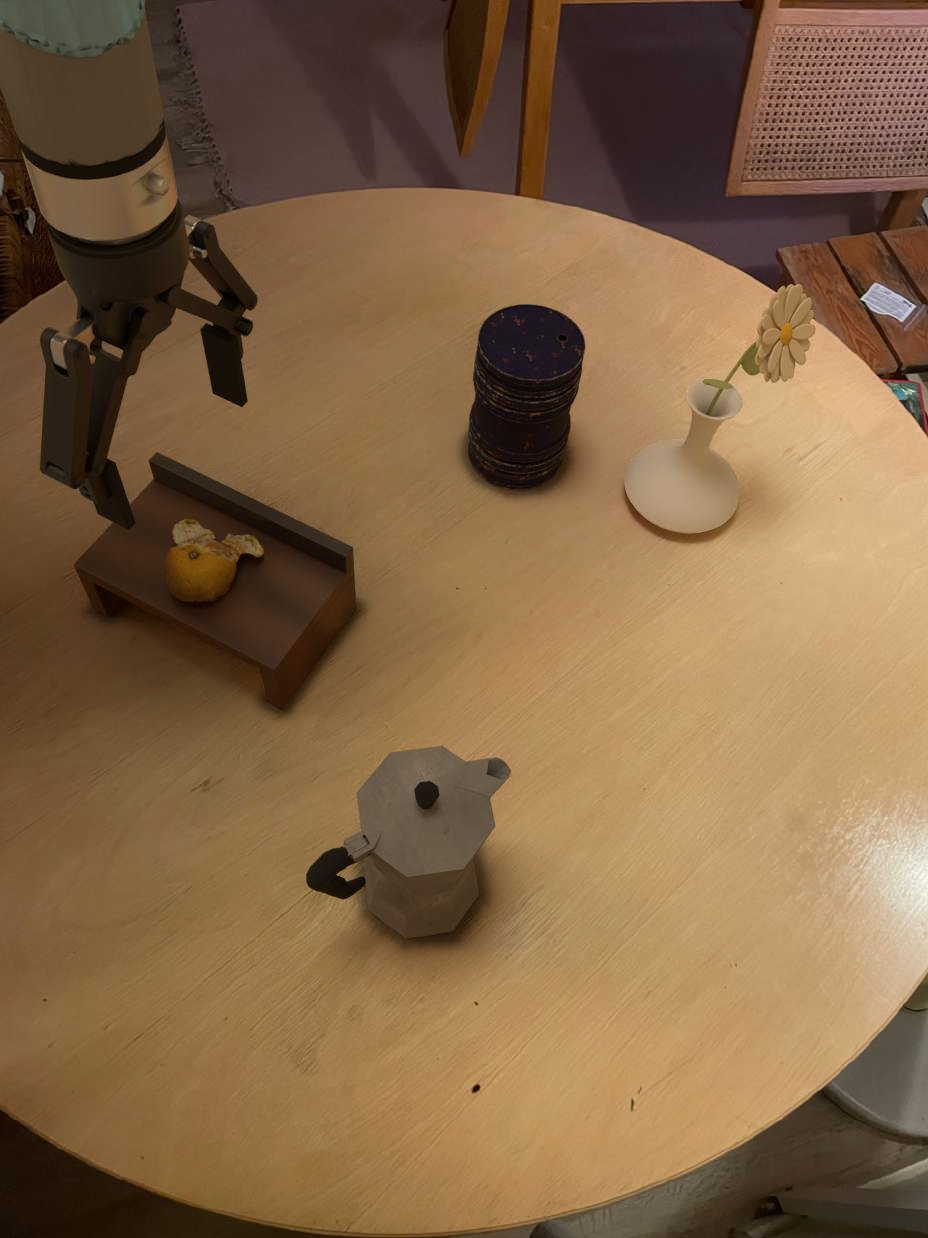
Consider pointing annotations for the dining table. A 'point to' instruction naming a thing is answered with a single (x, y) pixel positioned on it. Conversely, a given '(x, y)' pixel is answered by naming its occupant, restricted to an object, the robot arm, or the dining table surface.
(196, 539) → the fruit
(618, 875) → the dining table surface
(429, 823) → the coffeepot
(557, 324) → the dark blue barrel
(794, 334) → the flower in vase
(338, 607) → the shelf
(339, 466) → the dining table surface
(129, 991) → the dining table surface
